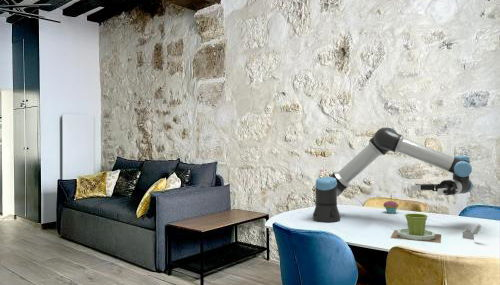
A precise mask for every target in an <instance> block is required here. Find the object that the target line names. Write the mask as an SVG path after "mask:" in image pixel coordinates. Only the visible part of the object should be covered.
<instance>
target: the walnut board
mask: <svg viewBox="0 0 500 285" xmlns="http://www.w3.org/2000/svg"><path fill="white" fill-rule="evenodd" d="M398 230H399V229H395V230H393V232H392V233H391V235H390V239H397V240H406V241H411V240H410V239H405V238H402V237H400V236H398V235H397V232H398ZM413 241H414V242H415V241H416V242H421V241H420V240H413ZM423 242H425V243H427V242H428V243H436V244H442V234H440V233H435V238H434V239H432V240H425V241H423Z"/></svg>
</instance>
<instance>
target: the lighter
mask: <svg viewBox="0 0 500 285" xmlns="http://www.w3.org/2000/svg"><path fill="white" fill-rule="evenodd" d="M481 228H482V225H481V224H477V226H476V227H475V229H474V231H472V229H464V230H462V239H468V240H475V235H478V233H479V231H480V230H481Z"/></svg>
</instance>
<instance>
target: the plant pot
mask: <svg viewBox="0 0 500 285" xmlns="http://www.w3.org/2000/svg"><path fill="white" fill-rule="evenodd" d="M404 217H405V219H406V222H407V228H408V229H409V234H410V235H418V236H423V235H424V231H425V229H426V223H427V219H428V218H429V216H428V215H427V214H423V213H406V214H404Z"/></svg>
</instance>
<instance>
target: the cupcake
mask: <svg viewBox="0 0 500 285" xmlns="http://www.w3.org/2000/svg"><path fill="white" fill-rule="evenodd" d="M392 196H393V195H392V194H390V200H388V201H385V202H384V203H383V207H384V208H385V210H386V213H387V214H392V213H393V214H396V212H397V209H398V208H399V204H398V203H397V202H396V201H393V200H392V199H393V197H392Z"/></svg>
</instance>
